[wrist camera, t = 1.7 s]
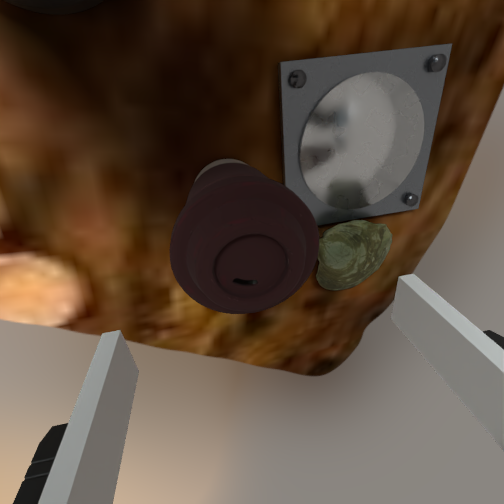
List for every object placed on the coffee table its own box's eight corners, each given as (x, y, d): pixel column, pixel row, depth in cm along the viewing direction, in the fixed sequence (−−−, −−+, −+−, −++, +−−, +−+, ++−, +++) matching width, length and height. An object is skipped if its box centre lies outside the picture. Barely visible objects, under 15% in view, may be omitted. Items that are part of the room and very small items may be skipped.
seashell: (362, 299, 39) (353, 321, 30) (313, 274, 42) (291, 287, 33) (400, 229, 36) (402, 231, 27) (345, 207, 39) (330, 202, 30)
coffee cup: (227, 120, 27) (256, 149, 14) (291, 191, 32) (358, 262, 19) (158, 194, 29) (130, 277, 16) (228, 251, 34) (249, 351, 21)
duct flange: (277, 62, 25) (282, 61, 24) (444, 44, 27) (457, 42, 26) (285, 226, 34) (288, 232, 32) (412, 205, 35) (421, 210, 34)
